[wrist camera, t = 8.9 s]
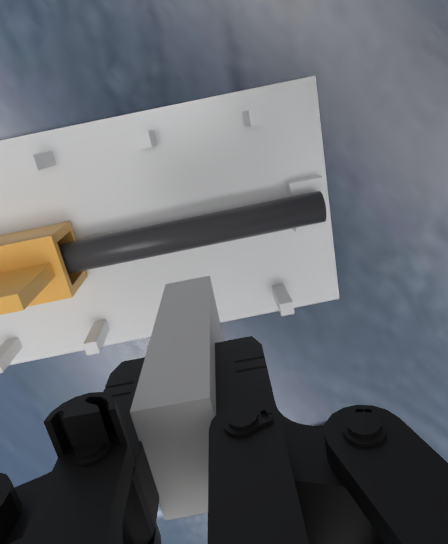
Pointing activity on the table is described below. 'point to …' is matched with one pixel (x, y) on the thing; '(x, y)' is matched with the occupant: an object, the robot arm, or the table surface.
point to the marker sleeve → (36, 268)
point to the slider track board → (173, 214)
